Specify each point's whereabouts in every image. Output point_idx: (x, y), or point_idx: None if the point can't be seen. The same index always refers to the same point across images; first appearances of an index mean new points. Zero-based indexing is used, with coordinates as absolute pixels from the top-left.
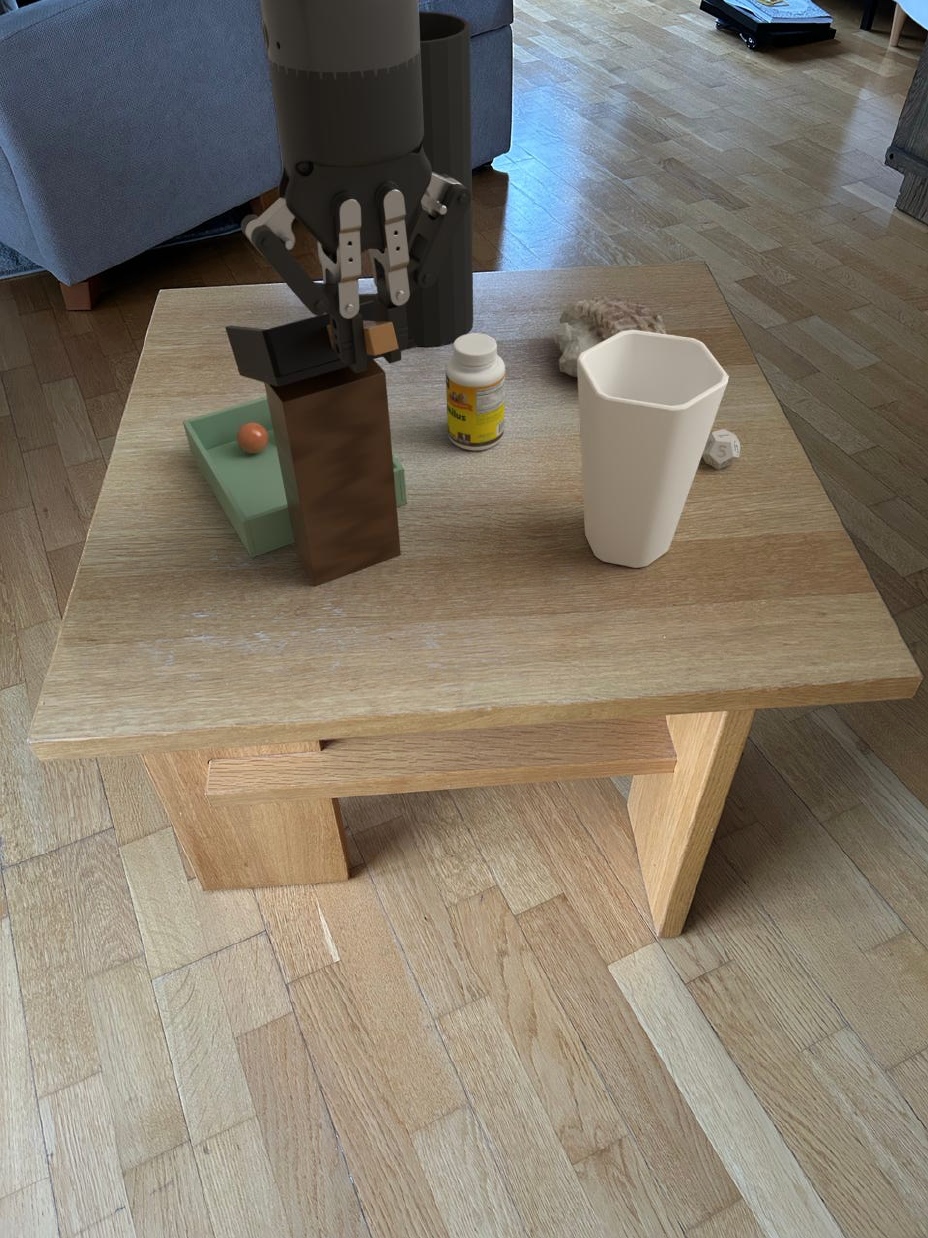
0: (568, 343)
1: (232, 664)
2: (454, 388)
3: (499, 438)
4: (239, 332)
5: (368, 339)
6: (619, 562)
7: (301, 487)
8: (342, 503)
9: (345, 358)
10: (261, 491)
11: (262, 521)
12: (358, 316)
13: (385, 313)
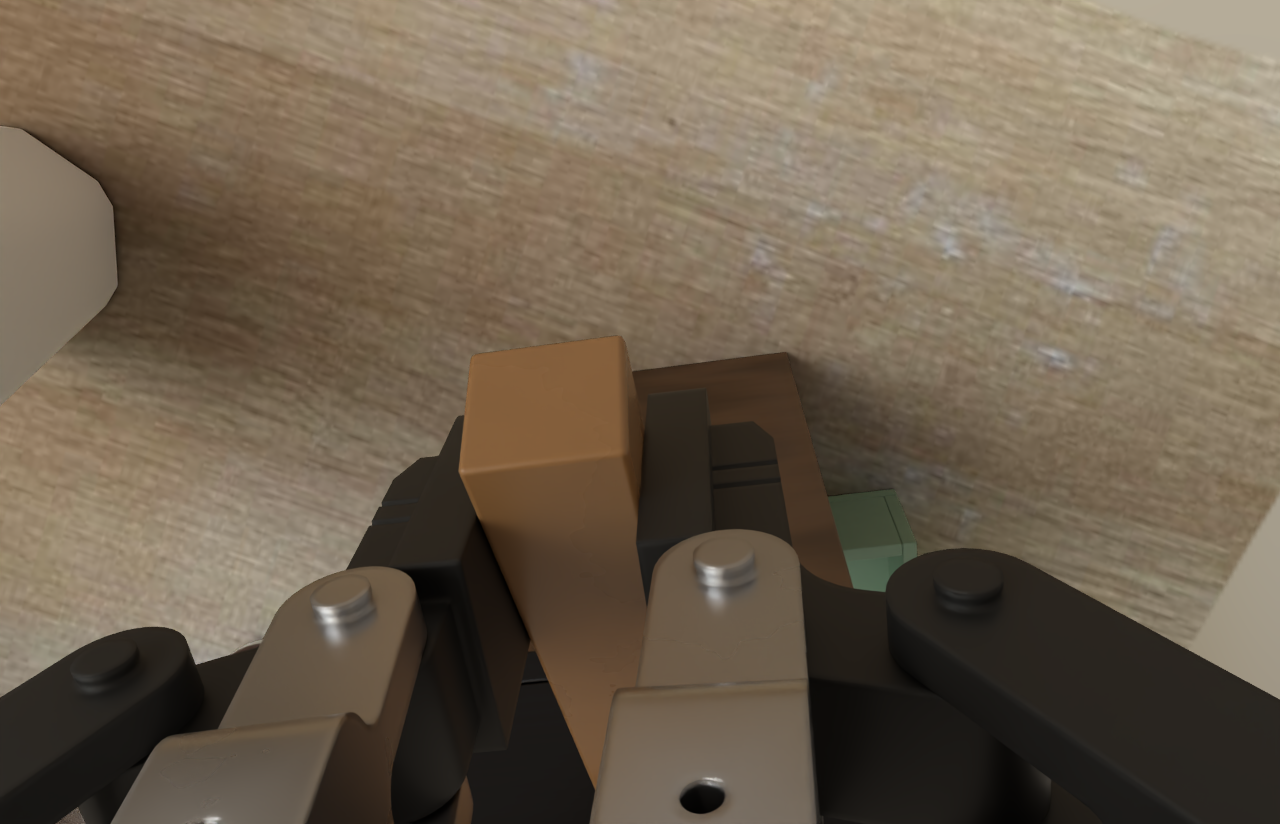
0: None
1: (1040, 179)
2: None
3: (233, 653)
4: None
5: (632, 425)
6: (57, 157)
7: (813, 482)
8: None
9: (757, 439)
10: None
11: (865, 539)
12: (662, 547)
13: (476, 567)
